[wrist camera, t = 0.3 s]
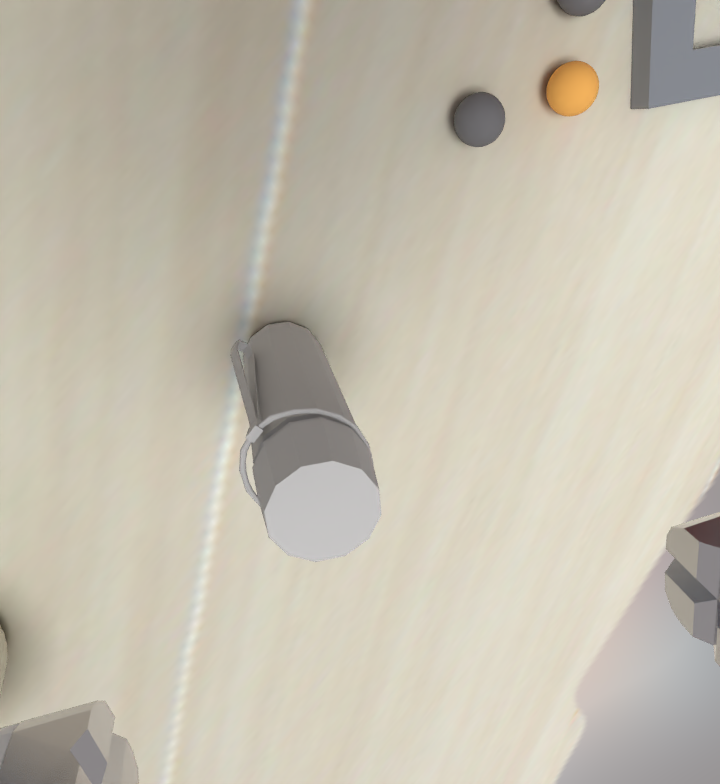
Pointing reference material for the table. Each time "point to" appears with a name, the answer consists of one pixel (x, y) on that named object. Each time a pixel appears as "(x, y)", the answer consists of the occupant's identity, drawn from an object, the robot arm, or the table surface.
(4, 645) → the canister
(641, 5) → the grey square frame
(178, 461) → the table surface
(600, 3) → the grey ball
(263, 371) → the water bottle
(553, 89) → the orange ball
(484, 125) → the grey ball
